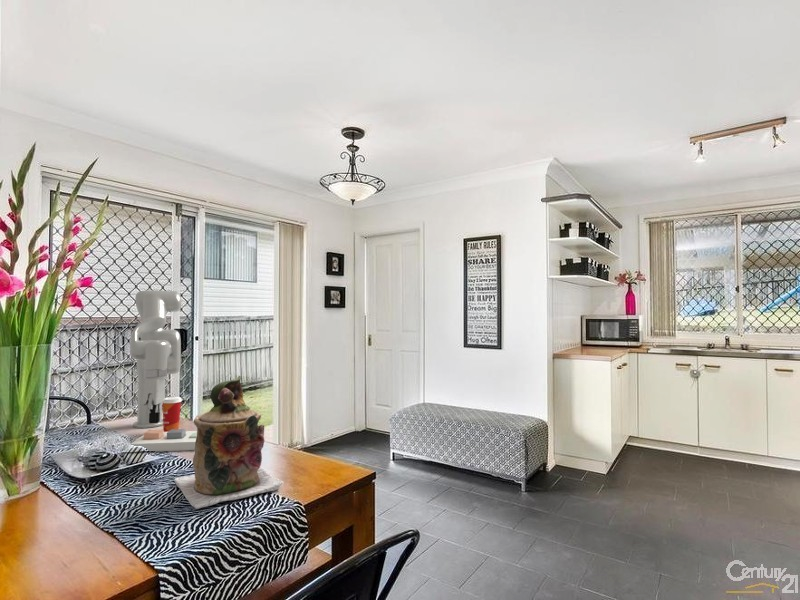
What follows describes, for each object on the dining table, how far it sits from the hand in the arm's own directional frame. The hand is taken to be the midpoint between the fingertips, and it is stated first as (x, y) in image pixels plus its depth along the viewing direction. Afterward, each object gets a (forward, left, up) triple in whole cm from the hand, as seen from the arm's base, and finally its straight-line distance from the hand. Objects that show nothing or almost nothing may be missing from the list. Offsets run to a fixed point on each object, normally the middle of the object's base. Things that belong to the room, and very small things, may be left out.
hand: (154, 422), depth 169 cm
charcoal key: (-1, +8, -6) cm, 10 cm away
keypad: (-1, +8, -9) cm, 12 cm away
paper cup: (-21, 0, -9) cm, 23 cm away
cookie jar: (+45, +36, -9) cm, 58 cm away
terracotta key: (-1, 0, -6) cm, 6 cm away
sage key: (-1, +16, -7) cm, 17 cm away
